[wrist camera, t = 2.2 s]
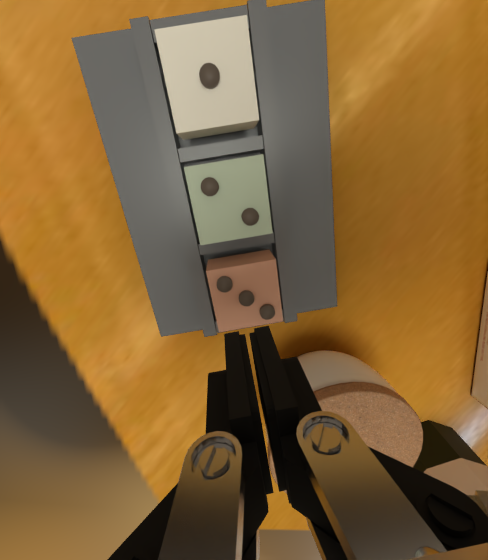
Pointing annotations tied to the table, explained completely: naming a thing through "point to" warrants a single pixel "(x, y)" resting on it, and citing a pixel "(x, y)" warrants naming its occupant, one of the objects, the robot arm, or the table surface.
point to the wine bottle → (451, 459)
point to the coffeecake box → (482, 357)
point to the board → (220, 159)
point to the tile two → (229, 199)
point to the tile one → (209, 76)
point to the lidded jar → (362, 404)
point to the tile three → (245, 290)
